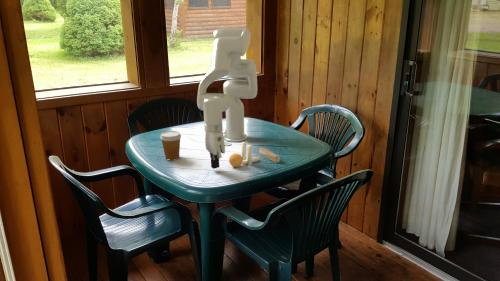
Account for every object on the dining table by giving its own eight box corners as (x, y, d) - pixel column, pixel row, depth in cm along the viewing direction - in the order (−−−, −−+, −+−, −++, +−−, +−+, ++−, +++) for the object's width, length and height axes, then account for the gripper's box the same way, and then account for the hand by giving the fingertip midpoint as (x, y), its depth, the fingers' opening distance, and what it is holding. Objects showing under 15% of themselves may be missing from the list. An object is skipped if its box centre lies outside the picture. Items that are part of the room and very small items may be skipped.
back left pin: (241, 161, 186) (240, 143, 183) (243, 160, 187) (243, 141, 184) (245, 162, 185) (244, 143, 182) (247, 160, 186) (246, 142, 184)
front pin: (243, 161, 181) (259, 156, 186) (241, 160, 182) (256, 156, 187) (244, 165, 181) (260, 160, 186) (241, 164, 183) (257, 160, 188)
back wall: (275, 162, 184) (275, 156, 183) (259, 153, 195) (259, 147, 194) (279, 162, 185) (279, 155, 184) (262, 152, 196) (262, 147, 195)
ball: (244, 159, 183) (236, 170, 182) (233, 151, 183) (225, 162, 182) (246, 157, 177) (237, 168, 176) (235, 149, 177) (227, 160, 176)
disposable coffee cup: (163, 154, 195) (161, 131, 191) (183, 153, 196) (181, 130, 192) (160, 162, 186) (158, 137, 183) (181, 161, 187) (180, 136, 183)
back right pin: (246, 165, 182) (246, 146, 179) (249, 163, 183) (248, 144, 180) (250, 165, 181) (250, 147, 178) (252, 164, 182) (252, 145, 179)
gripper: (229, 130, 166) (231, 171, 172) (213, 121, 178) (215, 160, 184) (213, 133, 162) (215, 175, 168) (197, 124, 174) (200, 163, 180)
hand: (215, 167), depth 176 cm, fingers closed
